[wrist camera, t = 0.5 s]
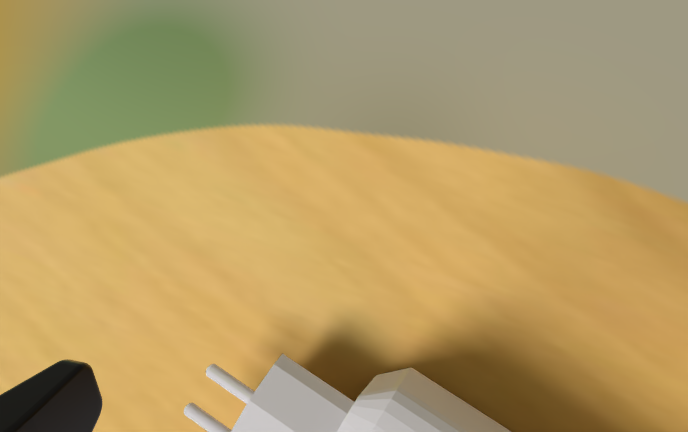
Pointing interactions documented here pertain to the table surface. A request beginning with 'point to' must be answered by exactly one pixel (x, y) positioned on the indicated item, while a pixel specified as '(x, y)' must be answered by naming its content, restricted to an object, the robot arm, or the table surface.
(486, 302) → the table surface
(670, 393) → the table surface
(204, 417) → the charger
